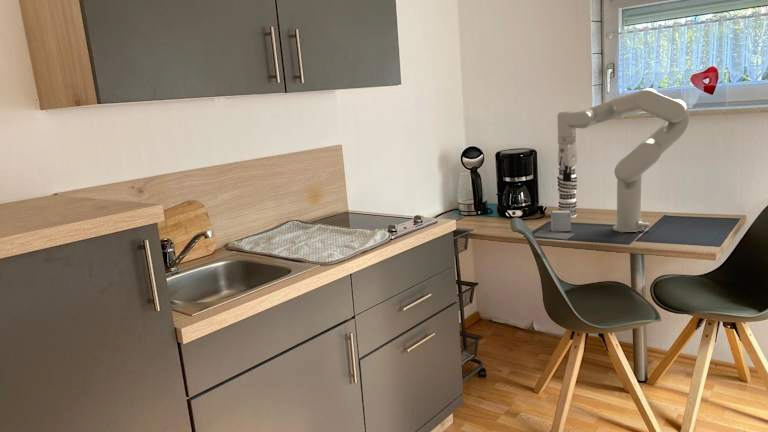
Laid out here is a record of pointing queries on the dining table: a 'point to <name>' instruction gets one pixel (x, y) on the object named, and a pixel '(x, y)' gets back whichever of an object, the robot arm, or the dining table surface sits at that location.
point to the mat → (553, 235)
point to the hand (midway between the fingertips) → (567, 181)
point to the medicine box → (560, 221)
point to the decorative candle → (567, 193)
